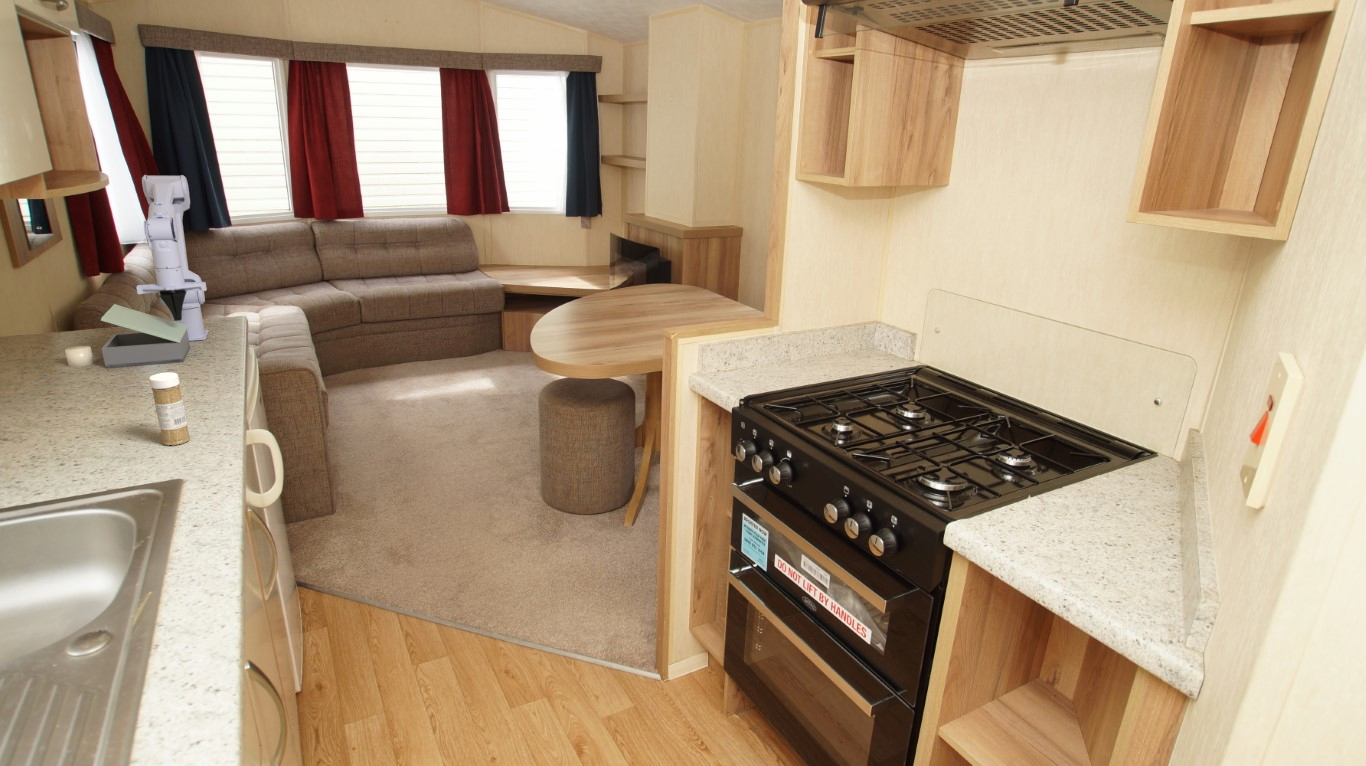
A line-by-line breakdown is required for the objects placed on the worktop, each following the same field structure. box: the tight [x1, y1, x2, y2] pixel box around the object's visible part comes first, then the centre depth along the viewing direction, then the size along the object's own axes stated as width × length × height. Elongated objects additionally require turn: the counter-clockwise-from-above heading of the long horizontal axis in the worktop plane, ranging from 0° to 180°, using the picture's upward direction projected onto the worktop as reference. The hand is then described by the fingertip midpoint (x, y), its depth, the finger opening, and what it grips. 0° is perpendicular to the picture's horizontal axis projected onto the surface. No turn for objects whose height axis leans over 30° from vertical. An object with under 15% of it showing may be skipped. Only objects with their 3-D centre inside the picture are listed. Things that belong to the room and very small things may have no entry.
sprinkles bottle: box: [148, 371, 191, 446], centre depth 142 cm, size 5×5×14 cm
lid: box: [100, 303, 188, 343], centre depth 189 cm, size 15×16×1 cm
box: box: [101, 330, 191, 369], centre depth 191 cm, size 14×16×5 cm
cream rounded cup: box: [64, 345, 95, 368], centre depth 185 cm, size 5×5×4 cm
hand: (178, 319), depth 192 cm, fingers closed
